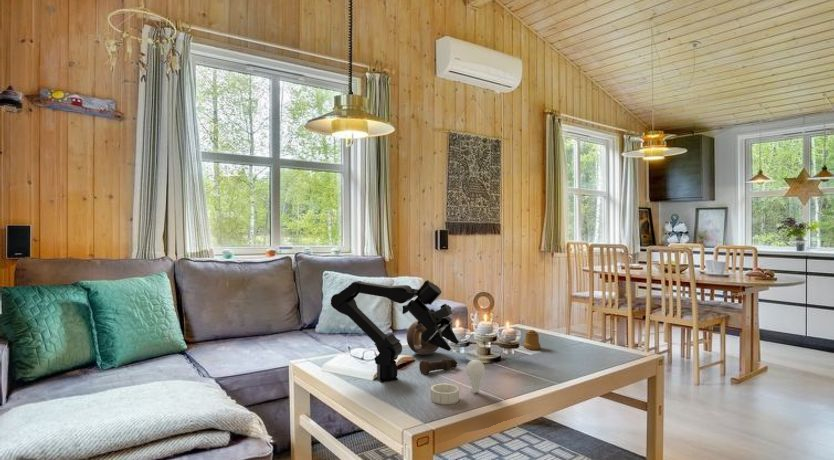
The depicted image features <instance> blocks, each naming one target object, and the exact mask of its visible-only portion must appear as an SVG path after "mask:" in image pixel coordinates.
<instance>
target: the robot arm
mask: <svg viewBox="0 0 834 460" xmlns="http://www.w3.org/2000/svg"><path fill="white" fill-rule="evenodd" d="M359 294H364V295H370V296H375V297H382V298H385V299H388V300H390V301H392V302H394V303H397V304H404V303H407V304H404V305H401V306H402V314H403V315H404V314H406V313H408V312H409V313H410V314H411V316H413V318H414V319H415V320H416V321H417V320H418V322H417V323H418V324H419V325H420V324H421V325H422V326H423V327H424V328H425V329H426V330H425V331H424V332H423V333H422V334H421V340H422V341H423V342H424V343H426V342H427V341H428V339H429V341H428V342H427V343H428V344H432V345H435V346H437V347H439V348H440V349H443V350H446V351H447V352H451V350H452V348H451V346H450V344H449V343H448V342H447V341H446V340H448V341H449V342H452V343H453V344H455V345H458V344H459V342H460V341H459V340H458V337H457V335H456V334H455V332H454V330H453V328H452V325H453V322H452V321H453V319H452V318H451V317H450V315H453V311H452V307H451V306H450V305H449V304H447V303H443V304H442V305H440V308H439V309H437V310H436V311H435V309H434V308H433V309H430V308H429V307H428V306H427V305H432V304H433V303H434V302H435V301H436V300H437V299H438V297H440V296H441V294H442V290H441V288H440V287H439V286H438V285H436V284H435V283H433V282H432V281H430V280H429V279H427V280H425V281H424V282H423V284H422V285H421V286H420V288H419V289H417V288H412V287H411V286H410V285H408V284H403V285H402V284H400V285H398V284H397V285H385V284H378V283H371V282H365V281H361V280H356V281H353V282H351V283H350V284H349V285H348V286H347V287H345V288H344V289H343V290H341V291H340V292H338V293H335V294H333V295H332V296H331V298H330V306H331V307H332V308H333V309H334V310H335V311H337V312H339V313H340V314H342V315H345V316H347V317H348V318H349V319H350V320H352V322H353V323H355V324H356V326H357V327H359V329H360V330H361V331H362V332H363V333H364V334H365V335H366V336H367V337H368V338H369V339H370V340H371V341H372V342H373V343H374V344H375V347H376V350H377V352H378V354H377V355H376V356H375V357H374V362H375V365H376V375H377V378H376V379H377V380H378V381H379V382H380V383H385V382H391V381H392V382H393V381H398V380H399V379H398V365H397V361H396V360H398V358H399V356H400V355H401V354H402V352H403V345H402V343H401V339H399V338H397V337H396V336H395V334H394V333H390V334H386V333H384V332H383V331H382V330H381V329H380V327H378V326H377V325H376V324H375V322H373V321H372V320H371V319H370V318H369V317H368V316H367V315H366V314H365V313H364V312H363V311H362V310H361V309H360V308H359V307H358V304H357V302H356V300H355V298H356V297H358V295H359ZM414 298H415V299H414ZM408 301H409V302H408Z"/></svg>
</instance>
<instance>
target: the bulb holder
mask: <svg viewBox="0 0 834 460" xmlns="http://www.w3.org/2000/svg"><path fill="white" fill-rule="evenodd" d="M430 401H431V402H432V403H435V404H438V405H442V406H447V405H449V406H450V405H451V406H452V405H454V404H457V403H459V402H460V387H458V386H457V385H455V384H452V383H438V384H433V385H431V386H430Z"/></svg>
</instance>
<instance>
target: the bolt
mask: <svg viewBox="0 0 834 460" xmlns="http://www.w3.org/2000/svg"><path fill="white" fill-rule="evenodd" d="M457 367H458V362H457V360H456V359H451V358H450V359H449V358H447V357H443V358H442V359H441V360H438V361H431V362H430V361H429V360H426V359H421V360H420V361H419V369H418V370H419V371H420V372H419V373H420V374H421V375H424V376H428V375H429V374H430V372H434V371H439V370H443V371H444V372H448V371H450V370H451V369H455V368H457Z"/></svg>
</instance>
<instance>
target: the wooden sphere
mask: <svg viewBox="0 0 834 460" xmlns="http://www.w3.org/2000/svg"><path fill="white" fill-rule="evenodd" d="M417 322H418V320H417V319H416V320H415V321H413V323H412V324H411V325H410V326H409V327H408V329H407V331H406V343H407V345H408V347H409V348H410V350H411V351H412V352H414V353H415V354H417V355H420V356H428V355H432V354H434V353H435V352H437V350H438V349H439V348H440V347H437V346H435V345H432V344H428V343H427V342H428V341H429V339H428V341H427V342H426V343H424V342H423V341H422V340H421V334H422V333H423V332H424V331H425V330H426V329H425V328H424V327H423V326H422V325H421V324H420V325H419V324H418V323H417Z"/></svg>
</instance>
